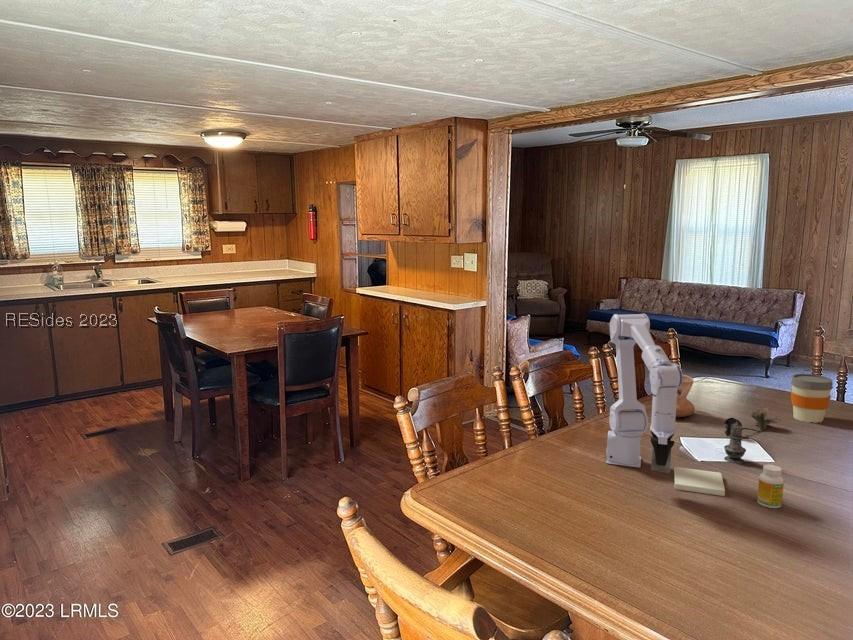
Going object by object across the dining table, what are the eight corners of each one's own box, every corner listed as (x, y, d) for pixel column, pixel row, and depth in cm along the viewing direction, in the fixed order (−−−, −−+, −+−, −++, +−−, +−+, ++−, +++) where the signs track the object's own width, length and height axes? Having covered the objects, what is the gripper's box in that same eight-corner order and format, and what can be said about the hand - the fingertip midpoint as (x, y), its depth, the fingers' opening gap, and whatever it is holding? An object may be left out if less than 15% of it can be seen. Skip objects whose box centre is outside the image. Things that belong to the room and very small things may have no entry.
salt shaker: (747, 464, 176) (751, 425, 174) (726, 463, 177) (729, 424, 175) (741, 456, 181) (744, 418, 179) (720, 455, 182) (723, 417, 180)
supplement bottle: (772, 510, 148) (776, 473, 146) (752, 501, 153) (755, 465, 151) (786, 505, 150) (789, 469, 149) (765, 497, 155) (768, 461, 153)
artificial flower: (717, 437, 202) (715, 407, 203) (764, 435, 210) (762, 406, 212) (740, 438, 194) (738, 407, 195) (788, 436, 202) (785, 406, 204)
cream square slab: (674, 490, 160) (675, 483, 160) (673, 473, 171) (674, 466, 171) (724, 498, 156) (725, 490, 156) (720, 479, 167) (720, 472, 167)
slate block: (651, 470, 155) (652, 448, 154) (651, 463, 160) (652, 442, 159) (669, 472, 154) (671, 450, 153) (669, 466, 158) (670, 444, 157)
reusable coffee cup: (789, 411, 224) (793, 371, 221) (829, 417, 216) (834, 376, 214) (785, 420, 214) (789, 379, 211) (828, 427, 206) (832, 384, 204)
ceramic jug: (687, 424, 210) (690, 385, 208) (645, 416, 219) (648, 378, 216) (699, 412, 224) (702, 375, 222) (659, 404, 233) (662, 369, 231)
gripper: (681, 421, 146) (678, 474, 148) (679, 404, 159) (676, 453, 162) (650, 418, 149) (647, 470, 151) (651, 401, 162) (648, 449, 164)
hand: (660, 461), depth 156 cm, fingers closed on slate block, 4 cm apart
